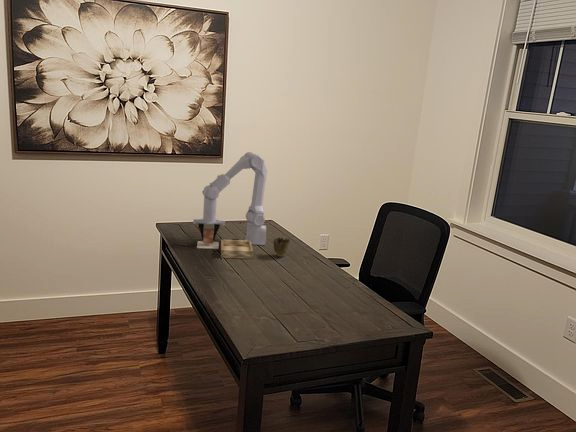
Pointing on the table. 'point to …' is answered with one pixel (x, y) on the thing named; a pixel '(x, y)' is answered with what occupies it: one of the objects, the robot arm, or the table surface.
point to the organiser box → (236, 249)
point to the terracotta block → (208, 235)
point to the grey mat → (208, 245)
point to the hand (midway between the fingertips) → (208, 239)
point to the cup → (281, 246)
